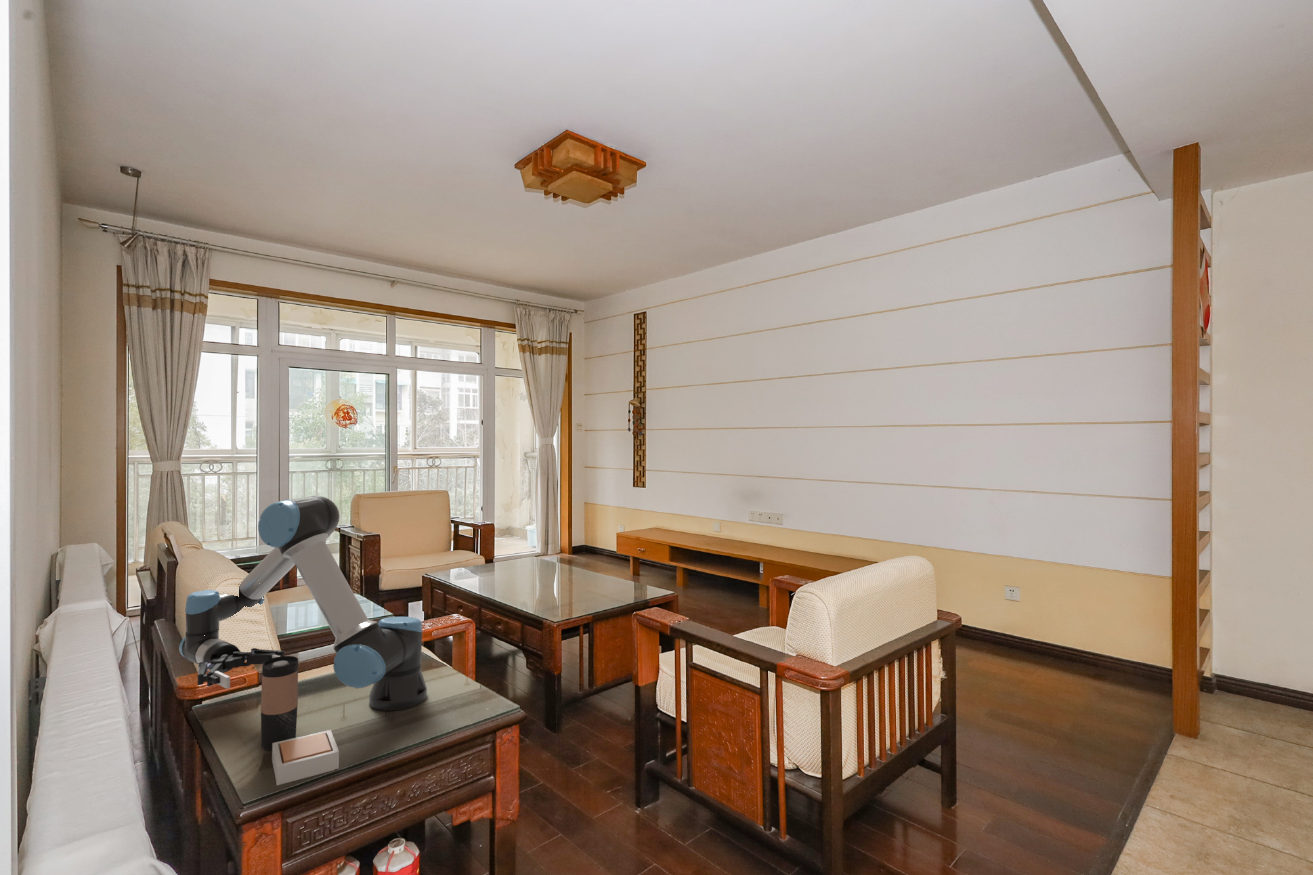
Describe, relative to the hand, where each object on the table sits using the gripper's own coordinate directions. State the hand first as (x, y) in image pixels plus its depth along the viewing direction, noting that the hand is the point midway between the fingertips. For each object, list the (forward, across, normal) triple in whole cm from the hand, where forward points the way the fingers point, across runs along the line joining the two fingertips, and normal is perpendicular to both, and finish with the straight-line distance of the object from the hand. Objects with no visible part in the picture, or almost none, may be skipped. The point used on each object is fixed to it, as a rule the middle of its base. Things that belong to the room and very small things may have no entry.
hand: (258, 673), depth 156 cm
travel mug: (+10, 0, -15) cm, 18 cm away
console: (+24, +2, -15) cm, 29 cm away
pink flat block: (+25, +1, -14) cm, 28 cm away
